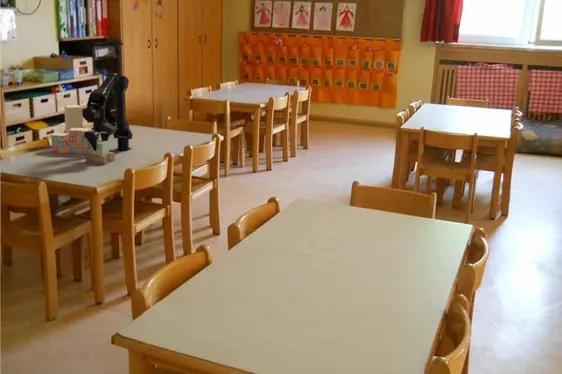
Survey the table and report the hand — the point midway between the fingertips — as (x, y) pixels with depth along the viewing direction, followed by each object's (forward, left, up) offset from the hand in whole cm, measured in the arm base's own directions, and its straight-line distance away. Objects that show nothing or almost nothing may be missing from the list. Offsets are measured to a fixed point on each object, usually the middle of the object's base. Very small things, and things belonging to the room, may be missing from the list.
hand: (100, 148), depth 298 cm
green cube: (0, 0, -2) cm, 3 cm away
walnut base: (0, 0, -6) cm, 6 cm away
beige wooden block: (-26, -31, -7) cm, 41 cm away
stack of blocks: (-11, -22, -7) cm, 26 cm away
